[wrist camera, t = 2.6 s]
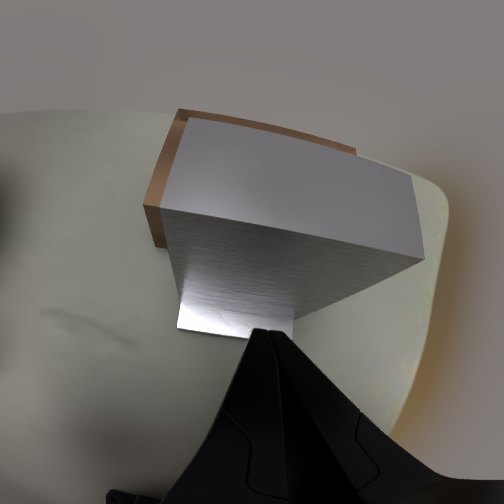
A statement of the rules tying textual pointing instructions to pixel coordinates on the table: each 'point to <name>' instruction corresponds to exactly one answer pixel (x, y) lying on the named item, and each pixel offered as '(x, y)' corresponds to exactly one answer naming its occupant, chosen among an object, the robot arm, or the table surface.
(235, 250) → the angle bracket
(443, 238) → the table surface
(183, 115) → the walnut u-shaped bracket
